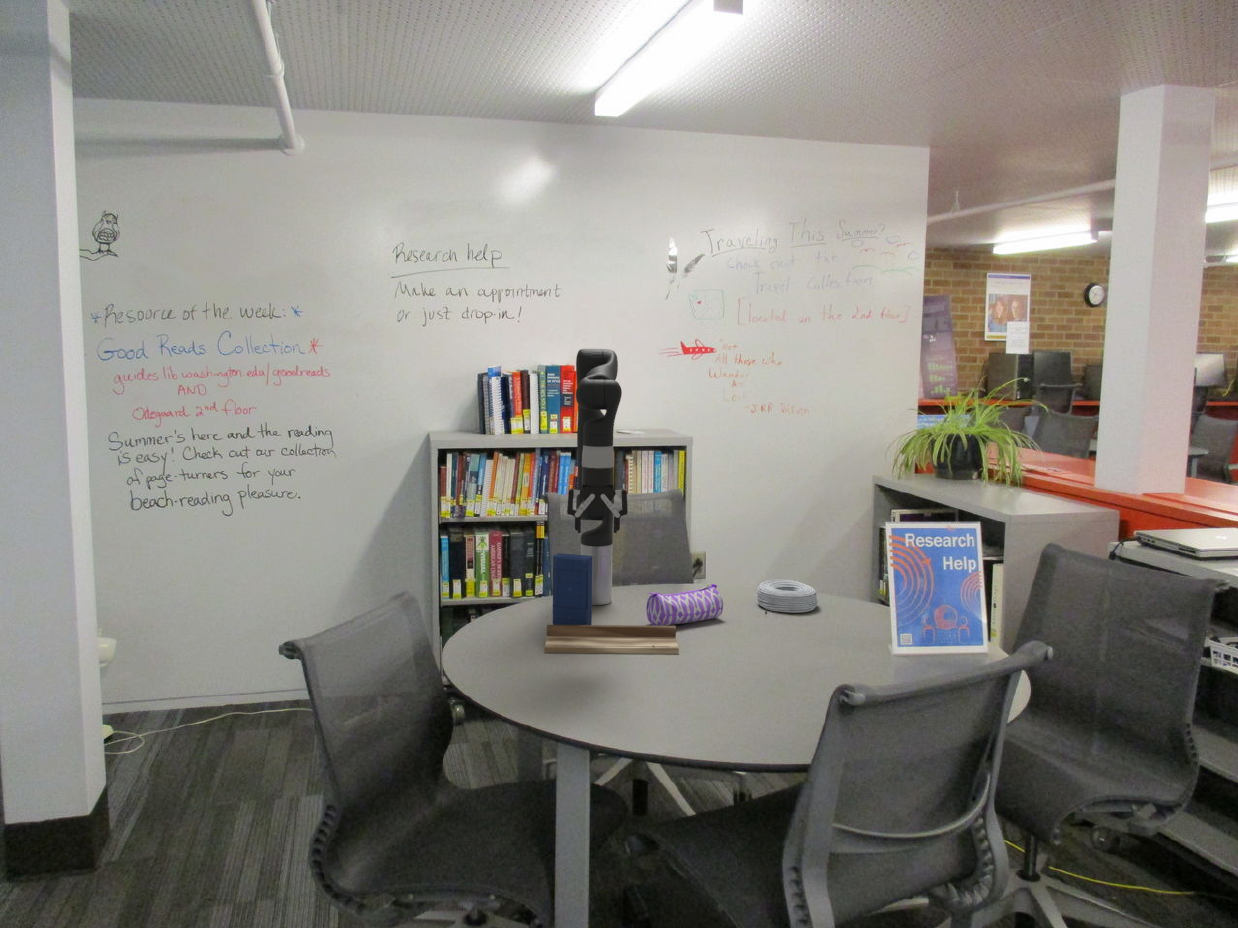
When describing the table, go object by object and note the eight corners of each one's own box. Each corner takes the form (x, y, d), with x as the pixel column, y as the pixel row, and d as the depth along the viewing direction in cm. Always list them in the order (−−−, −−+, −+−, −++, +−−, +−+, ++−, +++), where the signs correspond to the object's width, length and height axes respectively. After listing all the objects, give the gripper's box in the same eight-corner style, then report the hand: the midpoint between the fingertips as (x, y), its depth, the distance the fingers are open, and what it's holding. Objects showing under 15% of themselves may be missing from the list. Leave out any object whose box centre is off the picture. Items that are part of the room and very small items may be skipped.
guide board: (547, 640, 218) (547, 624, 218) (675, 641, 219) (675, 625, 218) (544, 653, 208) (544, 636, 208) (678, 654, 209) (679, 638, 208)
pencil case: (705, 612, 246) (706, 579, 245) (727, 620, 238) (728, 586, 237) (641, 624, 233) (642, 589, 232) (663, 633, 226) (663, 597, 225)
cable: (772, 595, 266) (773, 575, 265) (827, 604, 256) (828, 584, 255) (745, 607, 252) (746, 586, 251) (802, 618, 242) (803, 597, 241)
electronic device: (592, 630, 226) (593, 554, 224) (586, 636, 222) (587, 559, 219) (558, 627, 229) (558, 552, 227) (551, 632, 224) (551, 556, 222)
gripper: (627, 463, 210) (626, 529, 211) (567, 462, 209) (567, 529, 211) (629, 467, 202) (627, 535, 204) (567, 466, 202) (566, 535, 203)
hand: (597, 532), depth 207 cm, fingers open, 8 cm apart
